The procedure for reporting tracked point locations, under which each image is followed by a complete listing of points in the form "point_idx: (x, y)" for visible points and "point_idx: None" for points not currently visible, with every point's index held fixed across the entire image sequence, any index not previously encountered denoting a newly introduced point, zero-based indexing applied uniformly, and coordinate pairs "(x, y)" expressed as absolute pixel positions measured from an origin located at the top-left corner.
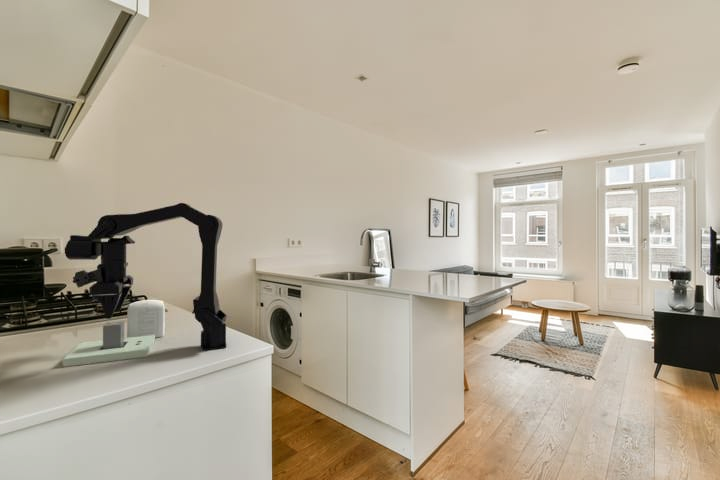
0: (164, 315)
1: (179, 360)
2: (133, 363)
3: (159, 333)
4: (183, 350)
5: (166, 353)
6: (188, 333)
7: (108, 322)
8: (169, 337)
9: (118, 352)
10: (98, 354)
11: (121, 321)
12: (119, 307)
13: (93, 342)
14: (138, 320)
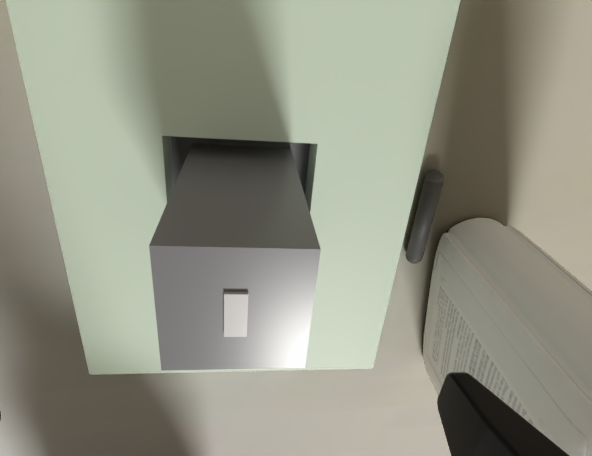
0: None
1: (8, 448)
2: (5, 307)
3: (428, 368)
4: (148, 446)
5: (126, 401)
6: (413, 438)
7: (315, 260)
8: (394, 385)
9: (66, 259)
10: (51, 155)
11: (303, 351)
12: (455, 449)
13: (405, 54)
14: (493, 366)
